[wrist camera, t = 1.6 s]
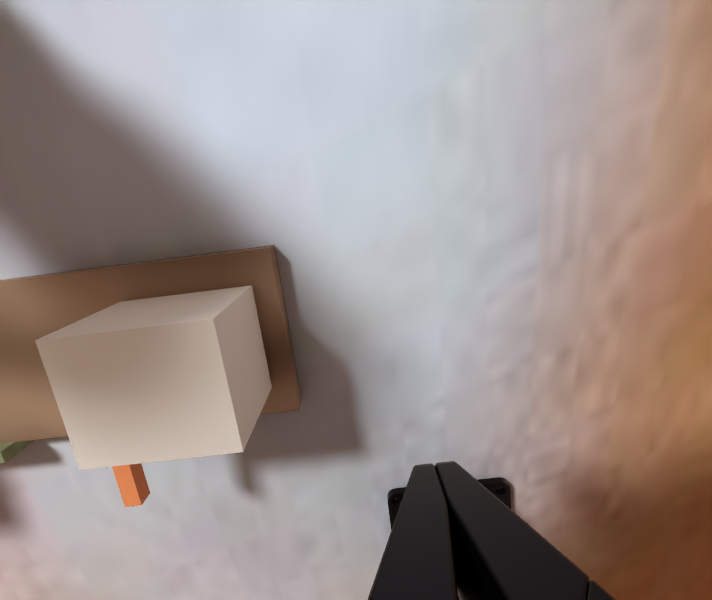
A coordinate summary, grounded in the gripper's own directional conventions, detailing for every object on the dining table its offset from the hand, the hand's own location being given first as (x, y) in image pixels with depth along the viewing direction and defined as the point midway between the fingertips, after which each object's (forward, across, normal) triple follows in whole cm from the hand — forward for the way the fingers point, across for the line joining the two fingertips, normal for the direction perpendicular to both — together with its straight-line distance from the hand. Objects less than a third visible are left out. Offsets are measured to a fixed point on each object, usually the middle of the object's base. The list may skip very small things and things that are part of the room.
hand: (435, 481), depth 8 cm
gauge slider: (+11, +9, +1) cm, 14 cm away
